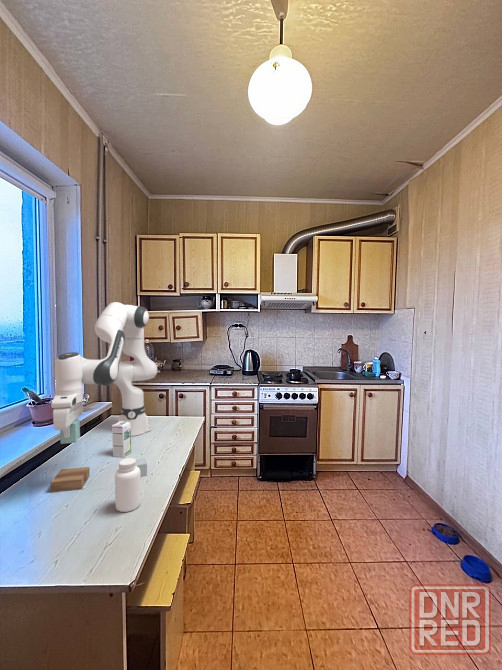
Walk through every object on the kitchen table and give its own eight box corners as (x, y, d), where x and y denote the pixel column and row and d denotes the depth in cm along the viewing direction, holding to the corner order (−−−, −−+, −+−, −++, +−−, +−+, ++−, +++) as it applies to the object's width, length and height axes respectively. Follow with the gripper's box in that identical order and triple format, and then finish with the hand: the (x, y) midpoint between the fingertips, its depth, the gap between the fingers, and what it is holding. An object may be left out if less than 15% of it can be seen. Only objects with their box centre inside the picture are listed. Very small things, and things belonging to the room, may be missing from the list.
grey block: (131, 473, 125) (131, 461, 125) (144, 470, 127) (144, 458, 127) (133, 478, 120) (133, 466, 120) (147, 476, 123) (146, 463, 123)
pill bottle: (121, 498, 107) (121, 455, 107) (144, 498, 107) (144, 456, 106) (110, 512, 99) (109, 466, 99) (135, 513, 99) (134, 467, 98)
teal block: (65, 438, 118) (65, 420, 117) (80, 437, 119) (79, 419, 118) (60, 443, 113) (60, 424, 112) (75, 442, 114) (75, 423, 114)
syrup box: (124, 457, 139) (123, 425, 138) (112, 456, 140) (111, 424, 139) (131, 452, 144) (131, 421, 144) (120, 451, 145) (119, 420, 145)
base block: (61, 479, 120) (61, 469, 120) (89, 476, 123) (89, 466, 122) (50, 493, 111) (50, 482, 110) (81, 490, 113) (81, 479, 113)
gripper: (69, 391, 124) (70, 425, 125) (48, 404, 104) (49, 445, 105) (86, 390, 126) (87, 423, 126) (69, 403, 106) (70, 443, 107)
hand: (70, 433), depth 116 cm, fingers closed on teal block, 5 cm apart
